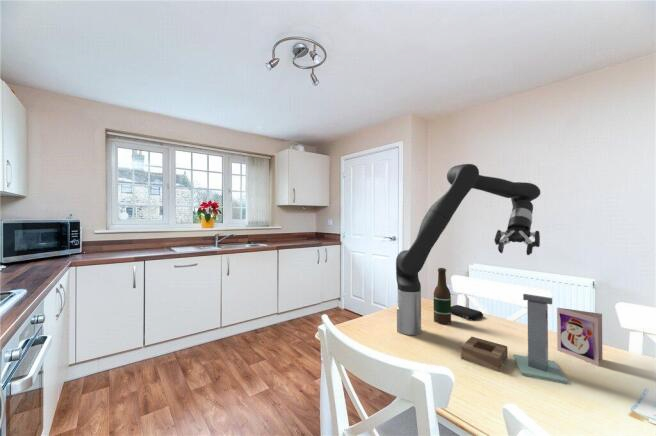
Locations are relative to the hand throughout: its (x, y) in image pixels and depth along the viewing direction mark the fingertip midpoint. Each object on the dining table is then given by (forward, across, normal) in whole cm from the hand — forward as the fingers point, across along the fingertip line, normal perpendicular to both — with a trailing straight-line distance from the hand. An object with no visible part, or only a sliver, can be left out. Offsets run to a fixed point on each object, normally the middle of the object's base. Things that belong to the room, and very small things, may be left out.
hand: (514, 252), depth 103 cm
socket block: (+38, -5, +9) cm, 40 cm away
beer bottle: (+22, -28, +26) cm, 44 cm away
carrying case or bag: (+11, -24, +37) cm, 46 cm away
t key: (+34, +9, +12) cm, 38 cm away
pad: (+35, +9, +12) cm, 38 cm away
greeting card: (+21, +18, +27) cm, 39 cm away
